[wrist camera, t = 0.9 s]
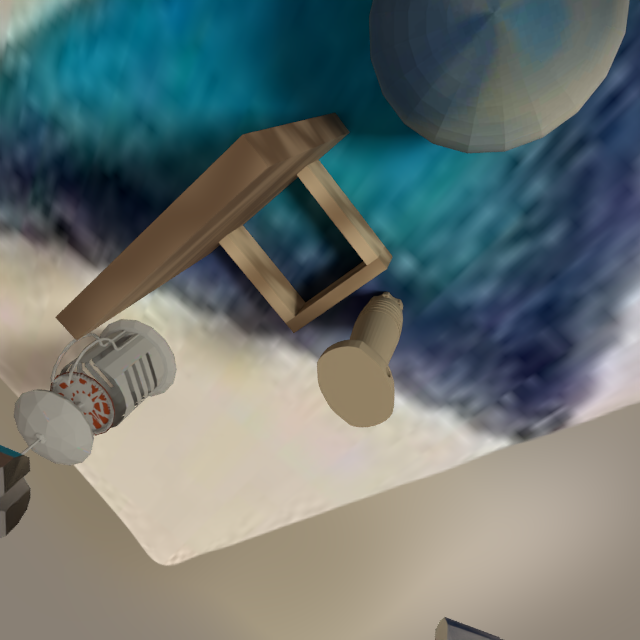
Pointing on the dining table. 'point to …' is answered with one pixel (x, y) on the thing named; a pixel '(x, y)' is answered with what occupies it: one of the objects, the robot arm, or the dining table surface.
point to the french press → (95, 391)
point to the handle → (363, 365)
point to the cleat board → (237, 228)
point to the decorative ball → (492, 65)
